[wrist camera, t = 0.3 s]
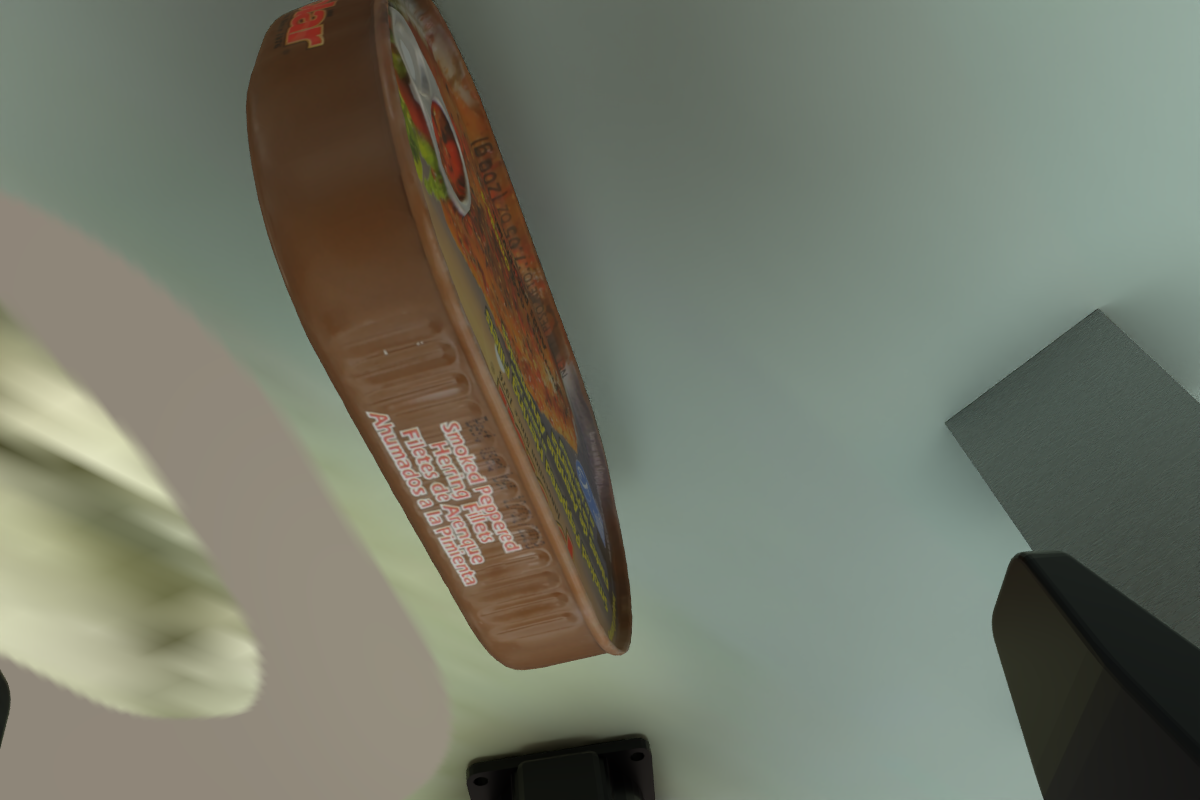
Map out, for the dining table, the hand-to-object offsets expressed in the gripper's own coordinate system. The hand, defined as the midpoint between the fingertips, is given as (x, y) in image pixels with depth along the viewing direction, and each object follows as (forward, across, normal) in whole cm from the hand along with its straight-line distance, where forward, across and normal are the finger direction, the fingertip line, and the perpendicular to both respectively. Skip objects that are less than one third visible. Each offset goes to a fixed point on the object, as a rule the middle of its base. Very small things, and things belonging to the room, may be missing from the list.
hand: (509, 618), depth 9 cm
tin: (+15, +1, +5) cm, 16 cm away
